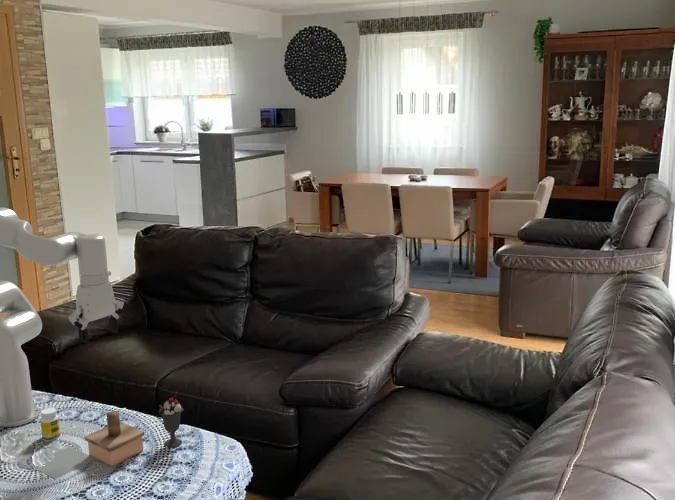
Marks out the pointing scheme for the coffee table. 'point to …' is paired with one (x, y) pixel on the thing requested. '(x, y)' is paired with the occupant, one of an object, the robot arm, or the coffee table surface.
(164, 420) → the sundae
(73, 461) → the mat
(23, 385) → the robot arm
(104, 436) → the lid
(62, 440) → the coffee table surface
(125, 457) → the open wooden box
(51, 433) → the supplement bottle
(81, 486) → the coffee table surface
